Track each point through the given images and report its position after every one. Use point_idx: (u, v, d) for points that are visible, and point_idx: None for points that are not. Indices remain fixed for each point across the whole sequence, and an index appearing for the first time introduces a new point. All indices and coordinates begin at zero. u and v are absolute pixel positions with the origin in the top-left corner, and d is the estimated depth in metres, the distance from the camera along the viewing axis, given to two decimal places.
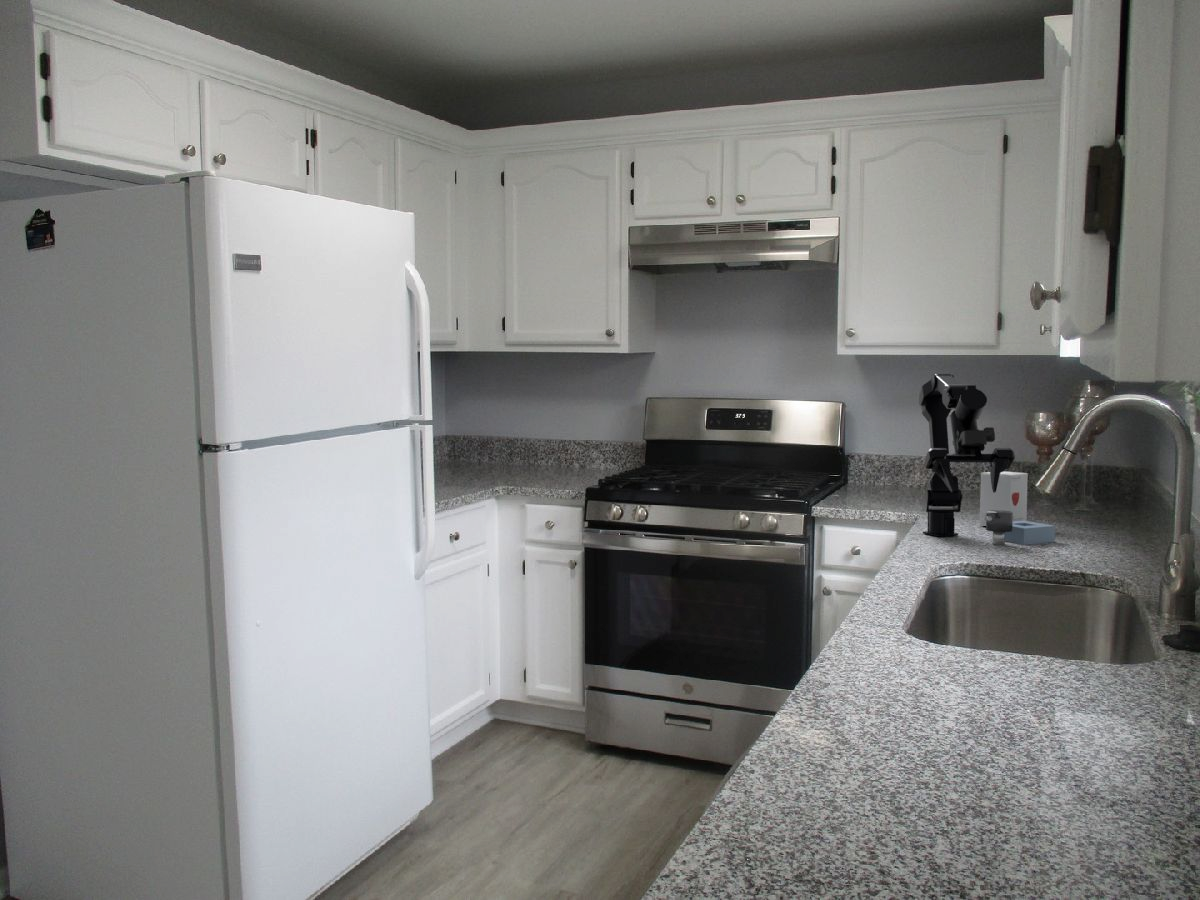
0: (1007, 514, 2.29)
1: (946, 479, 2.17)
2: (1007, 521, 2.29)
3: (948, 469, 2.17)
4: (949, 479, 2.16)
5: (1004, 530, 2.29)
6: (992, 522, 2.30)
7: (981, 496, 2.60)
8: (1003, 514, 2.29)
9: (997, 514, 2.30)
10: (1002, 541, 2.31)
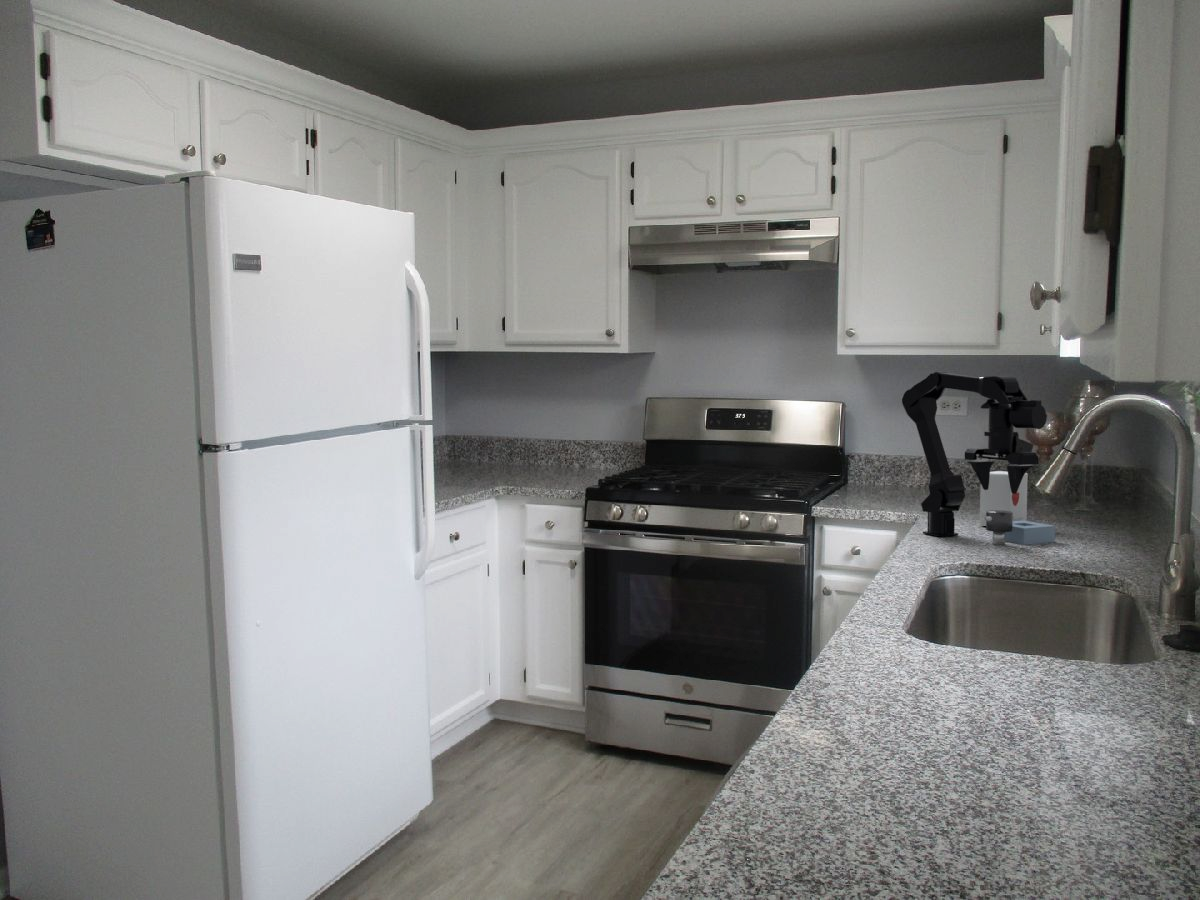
0: (1007, 514, 2.29)
1: (1018, 481, 2.26)
2: (1007, 521, 2.29)
3: None
4: None
5: (1004, 530, 2.29)
6: (992, 522, 2.30)
7: (981, 496, 2.60)
8: (1003, 514, 2.29)
9: (997, 514, 2.30)
10: (1002, 541, 2.31)
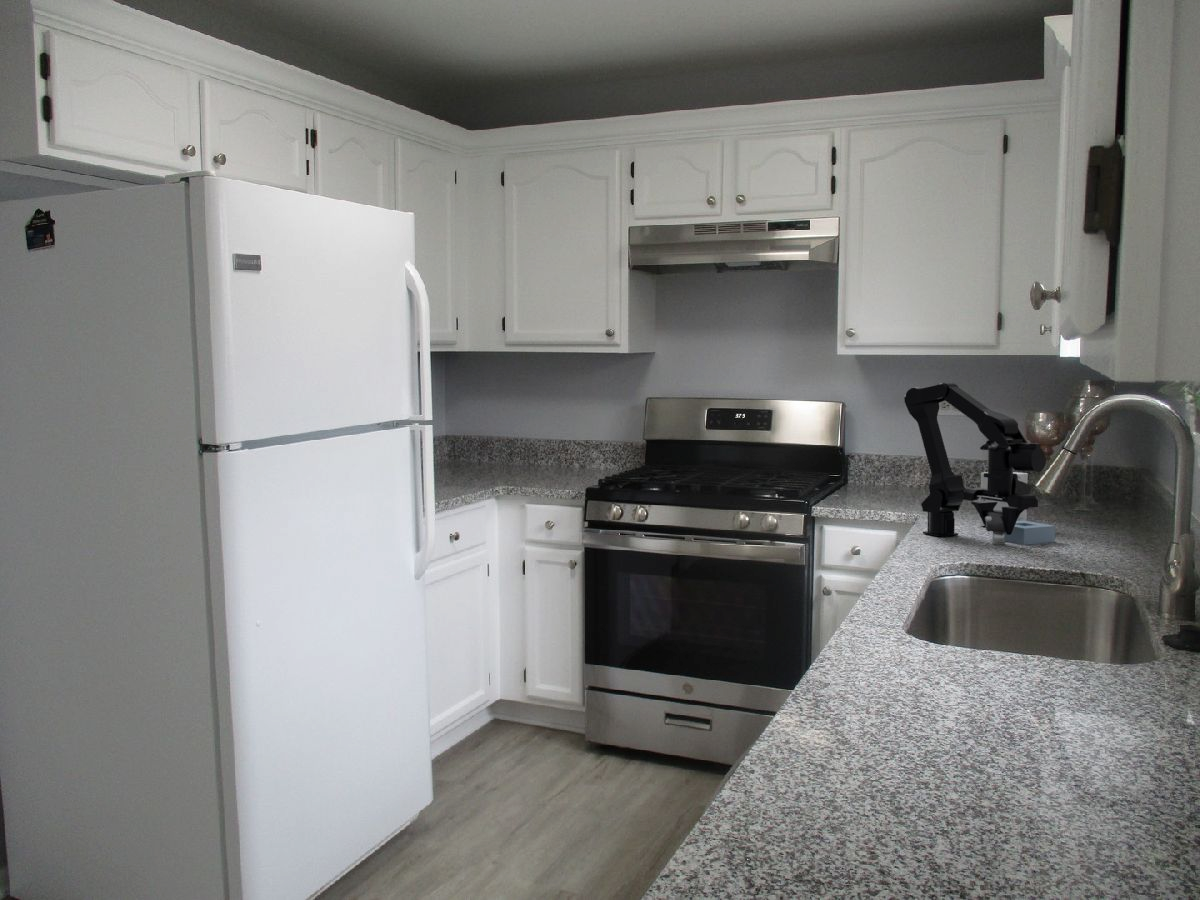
0: None
1: (1013, 523, 2.28)
2: None
3: None
4: None
5: (1004, 530, 2.29)
6: (992, 522, 2.30)
7: None
8: None
9: (997, 514, 2.30)
10: (1002, 541, 2.31)
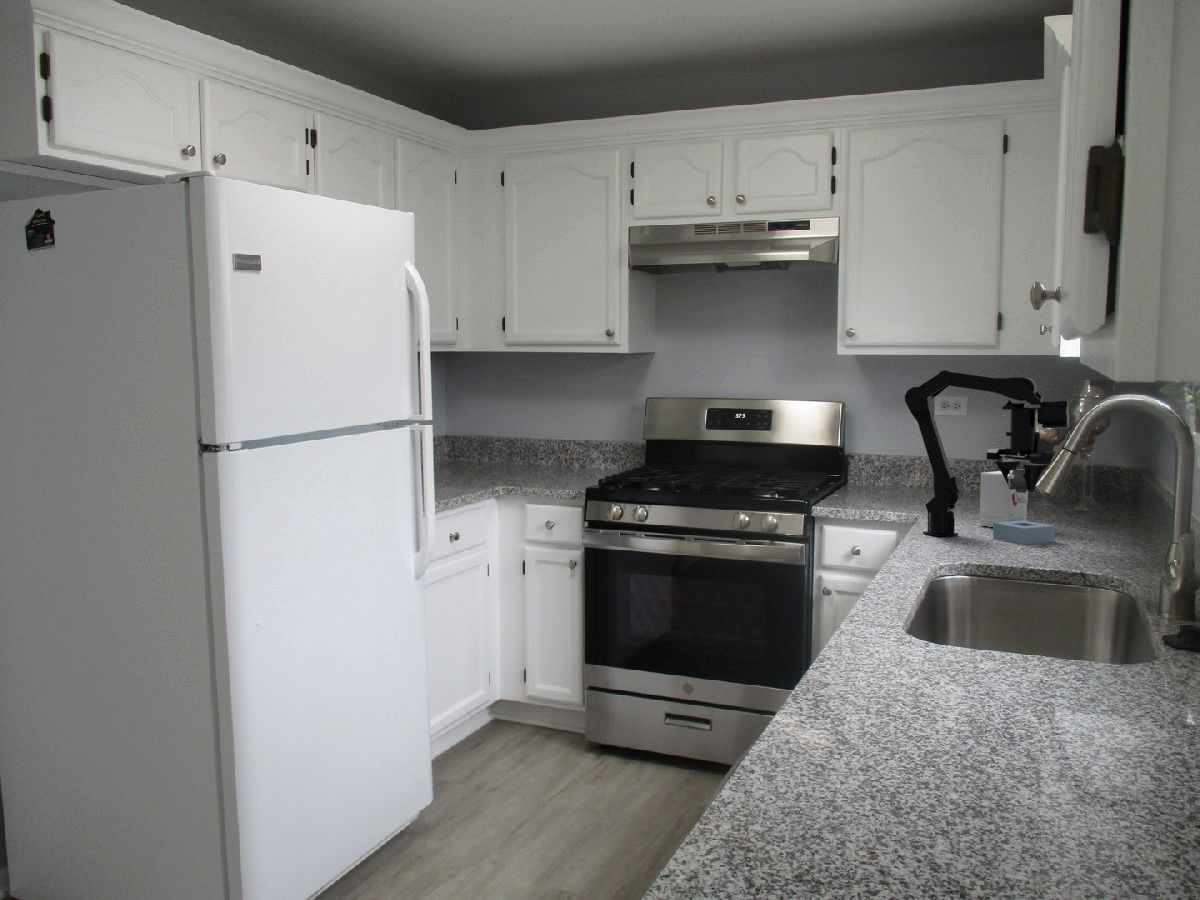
0: None
1: (1035, 480, 2.32)
2: None
3: None
4: None
5: (1026, 487, 2.33)
6: (1014, 480, 2.34)
7: (981, 496, 2.60)
8: None
9: (1019, 472, 2.33)
10: (1024, 498, 2.35)
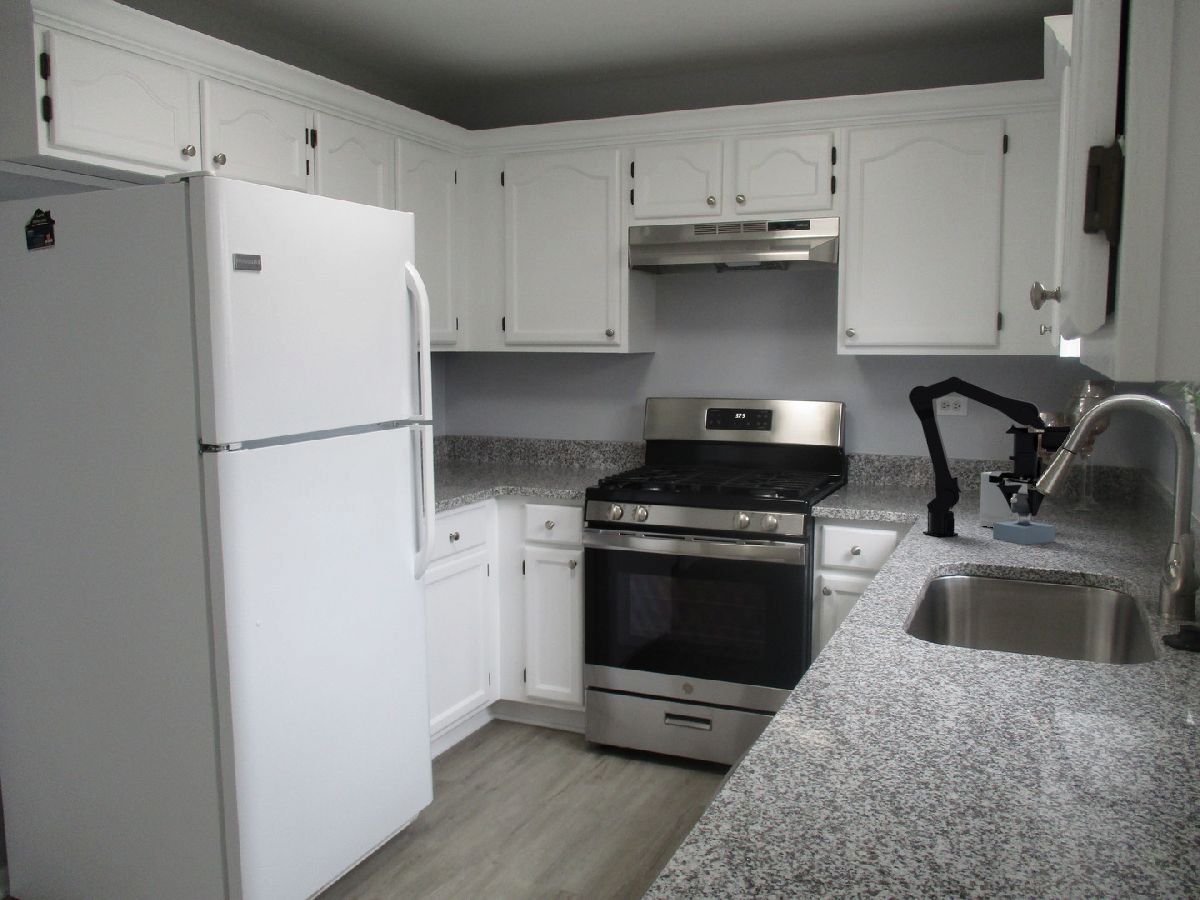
0: None
1: (1038, 504, 2.34)
2: None
3: None
4: None
5: (1029, 511, 2.35)
6: (1017, 503, 2.36)
7: (981, 496, 2.60)
8: None
9: (1022, 496, 2.35)
10: (1027, 522, 2.37)
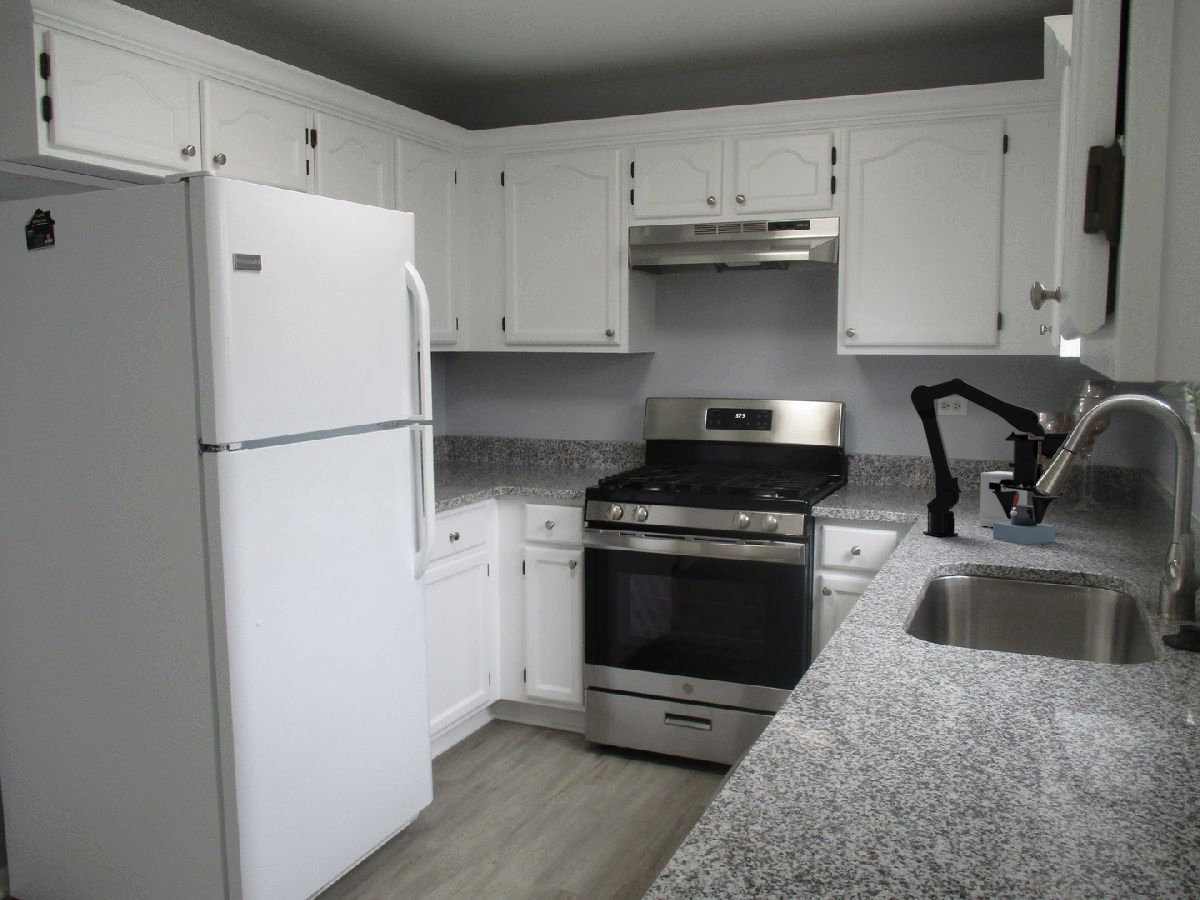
0: (1032, 509, 2.35)
1: (1043, 512, 2.33)
2: (1032, 516, 2.35)
3: None
4: None
5: (1029, 524, 2.35)
6: (1017, 516, 2.36)
7: (981, 496, 2.60)
8: (1028, 509, 2.35)
9: (1022, 509, 2.35)
10: None
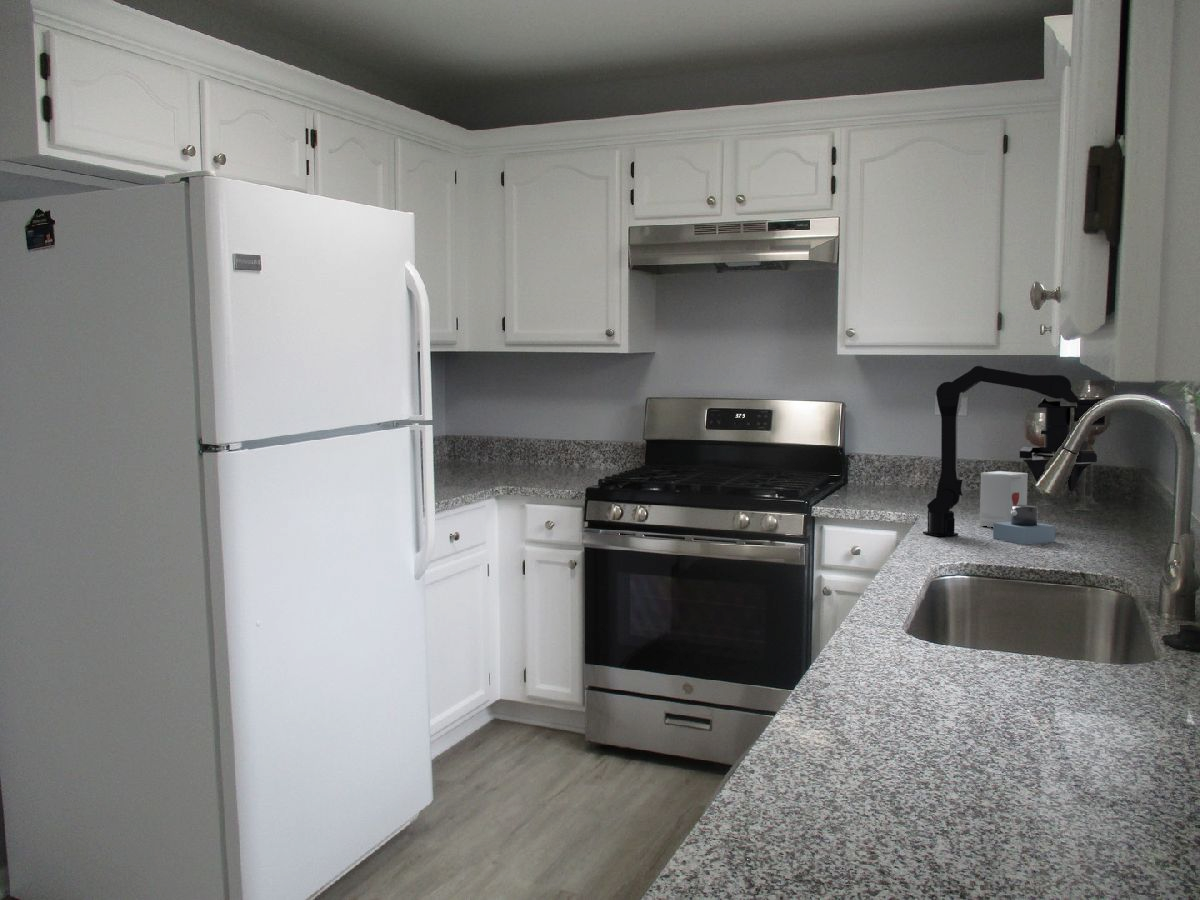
0: (1032, 509, 2.35)
1: (1076, 479, 2.29)
2: (1032, 516, 2.35)
3: None
4: None
5: (1029, 524, 2.35)
6: (1017, 516, 2.36)
7: (981, 496, 2.60)
8: (1028, 509, 2.35)
9: (1022, 509, 2.35)
10: None
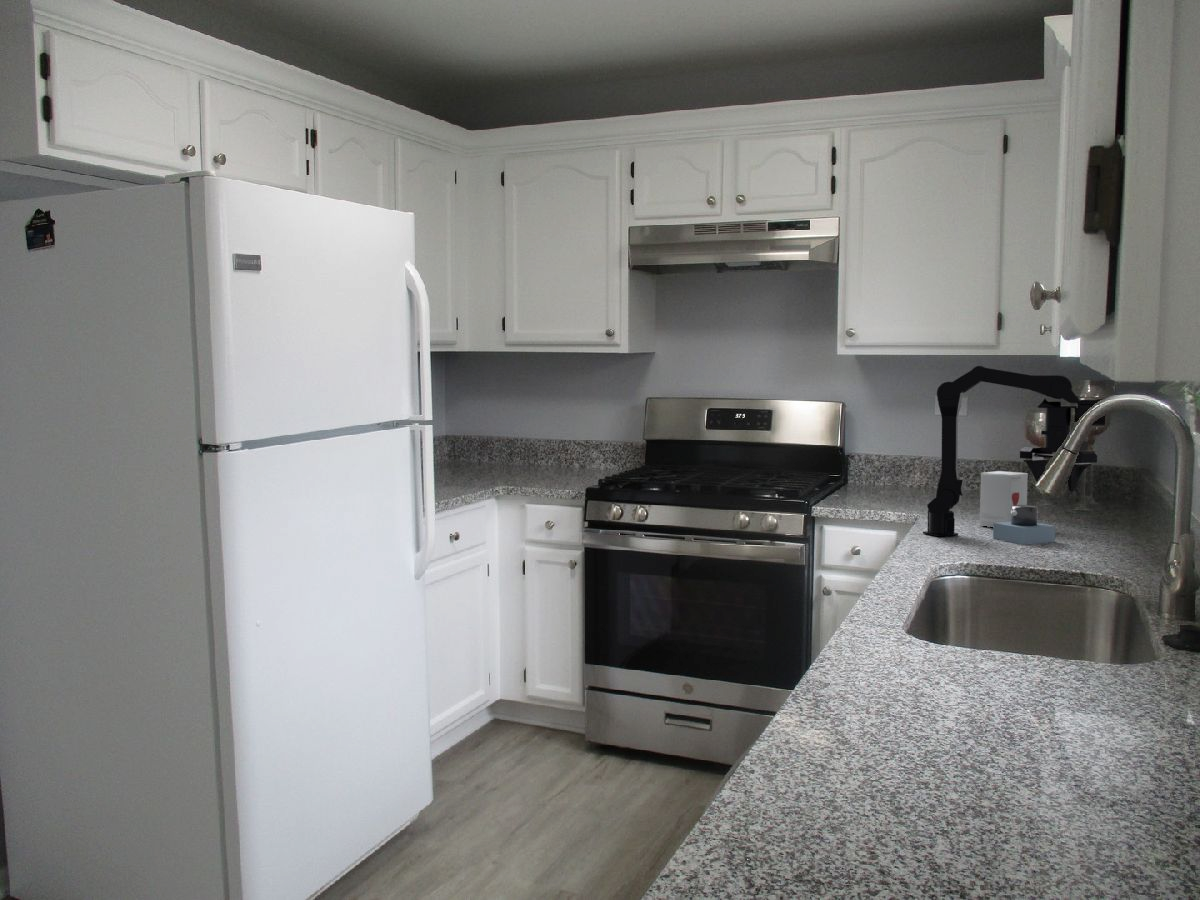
0: (1032, 509, 2.35)
1: (1076, 479, 2.29)
2: (1032, 516, 2.35)
3: None
4: None
5: (1029, 524, 2.35)
6: (1017, 516, 2.36)
7: (981, 496, 2.60)
8: (1028, 509, 2.35)
9: (1022, 509, 2.35)
10: None
